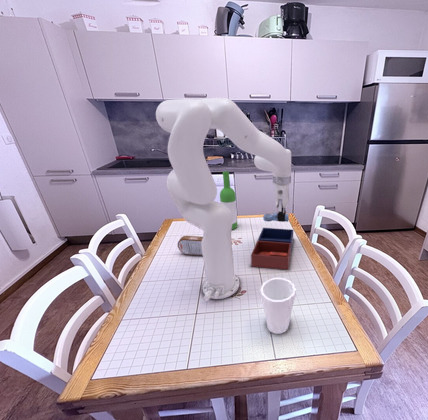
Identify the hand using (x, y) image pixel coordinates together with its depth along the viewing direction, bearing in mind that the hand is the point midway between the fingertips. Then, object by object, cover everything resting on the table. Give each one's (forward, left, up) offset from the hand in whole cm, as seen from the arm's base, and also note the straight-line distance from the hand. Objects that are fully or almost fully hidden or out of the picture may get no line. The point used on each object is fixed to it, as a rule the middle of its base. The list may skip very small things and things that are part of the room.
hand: (281, 219), depth 104 cm
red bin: (-13, +2, -13) cm, 18 cm away
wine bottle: (+14, +29, -13) cm, 35 cm away
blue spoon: (0, +3, 0) cm, 3 cm away
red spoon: (-12, +2, -12) cm, 18 cm away
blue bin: (0, +2, -13) cm, 13 cm away
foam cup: (-44, -5, -13) cm, 46 cm away
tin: (-13, +35, -13) cm, 40 cm away
